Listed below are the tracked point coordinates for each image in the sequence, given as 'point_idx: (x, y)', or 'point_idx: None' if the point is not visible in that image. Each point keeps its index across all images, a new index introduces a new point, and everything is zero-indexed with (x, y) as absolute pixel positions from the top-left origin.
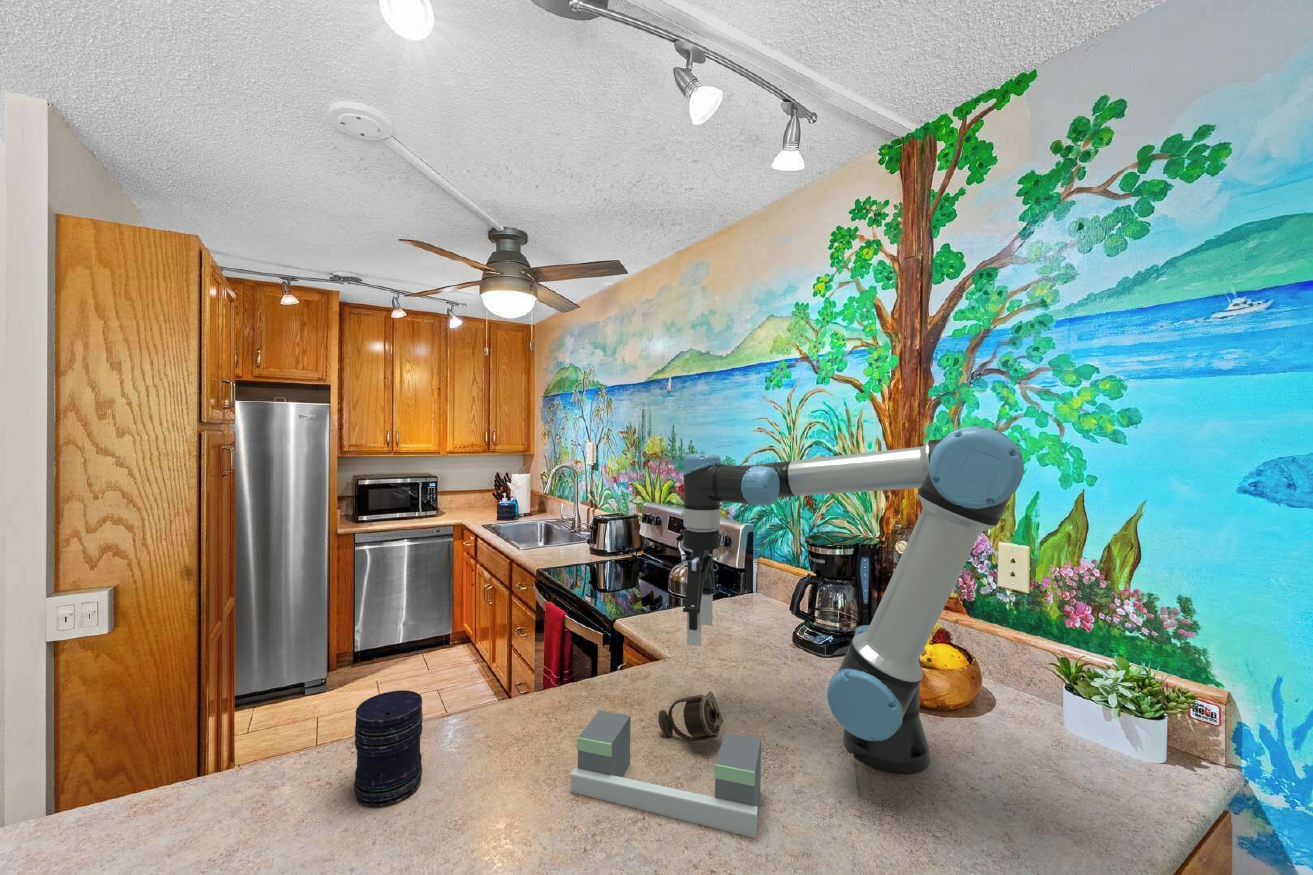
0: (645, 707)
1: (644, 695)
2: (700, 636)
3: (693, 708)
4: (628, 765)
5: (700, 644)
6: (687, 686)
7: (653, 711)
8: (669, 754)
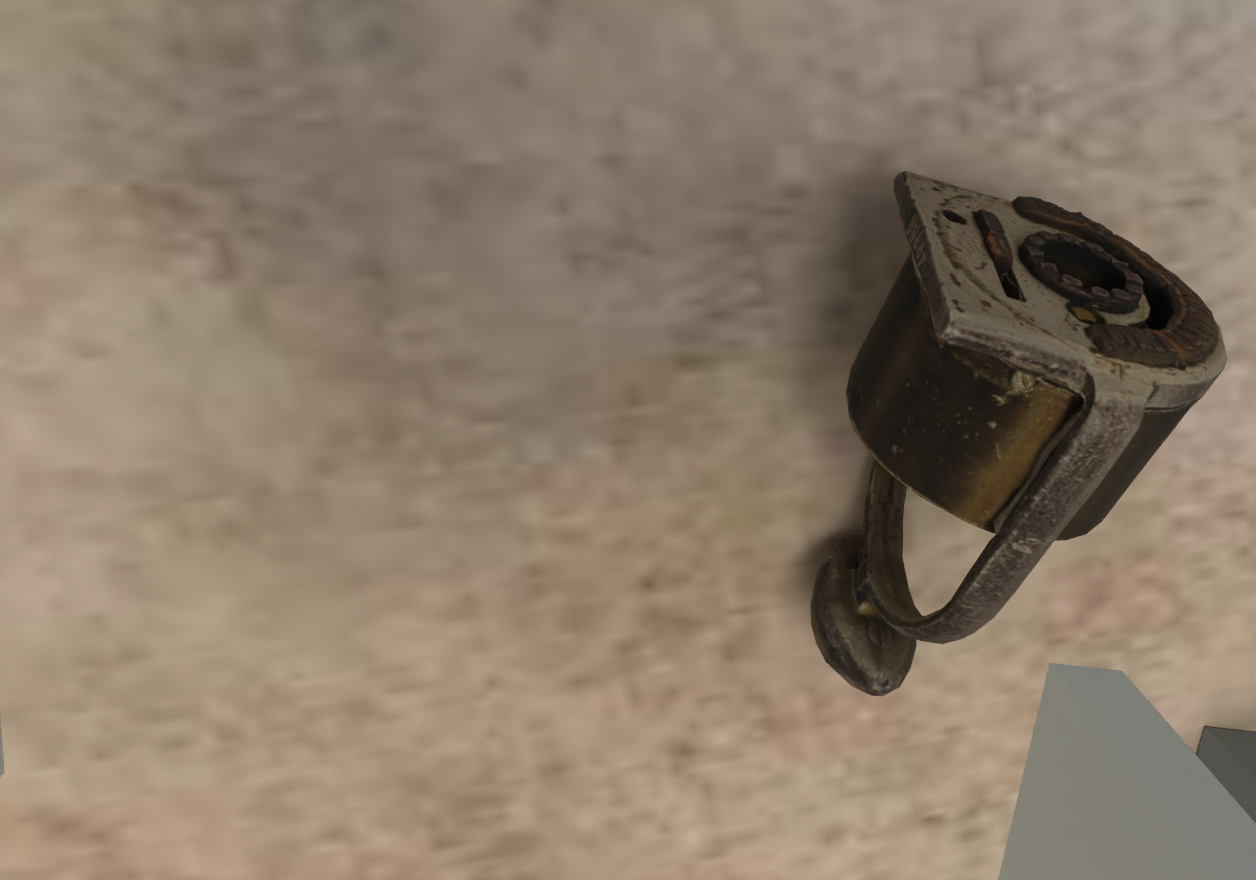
0: (516, 756)
1: (354, 791)
2: (1212, 777)
3: (1138, 460)
4: (1238, 738)
5: (1122, 683)
6: (114, 514)
7: (556, 698)
8: None
